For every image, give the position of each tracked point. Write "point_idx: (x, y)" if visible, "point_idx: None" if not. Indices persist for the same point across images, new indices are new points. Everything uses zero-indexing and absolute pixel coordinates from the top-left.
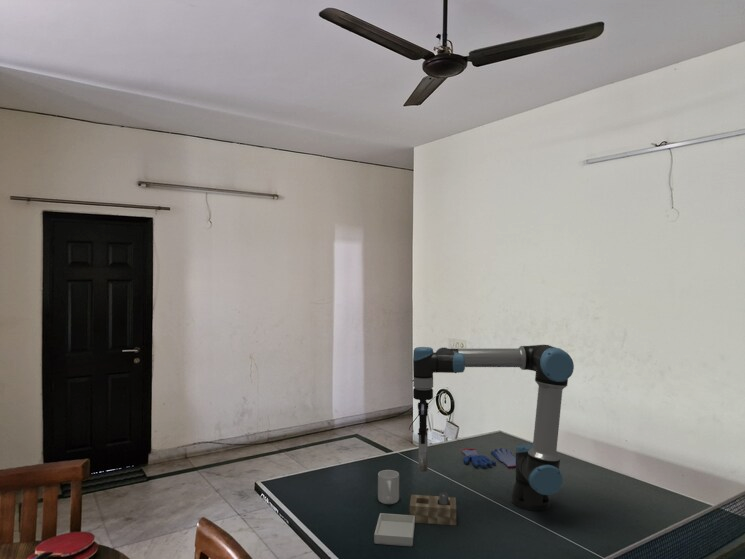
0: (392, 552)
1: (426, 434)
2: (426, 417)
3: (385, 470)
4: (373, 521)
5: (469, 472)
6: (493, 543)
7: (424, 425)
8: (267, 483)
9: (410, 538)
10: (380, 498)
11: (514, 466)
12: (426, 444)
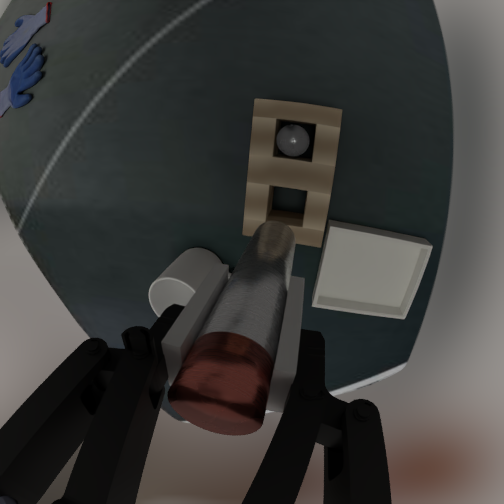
0: (435, 278)
1: (281, 371)
2: (49, 415)
3: (154, 308)
4: (311, 307)
5: (55, 84)
6: (415, 55)
7: (383, 499)
8: (180, 417)
9: (430, 250)
10: None
11: (46, 13)
12: (301, 310)
